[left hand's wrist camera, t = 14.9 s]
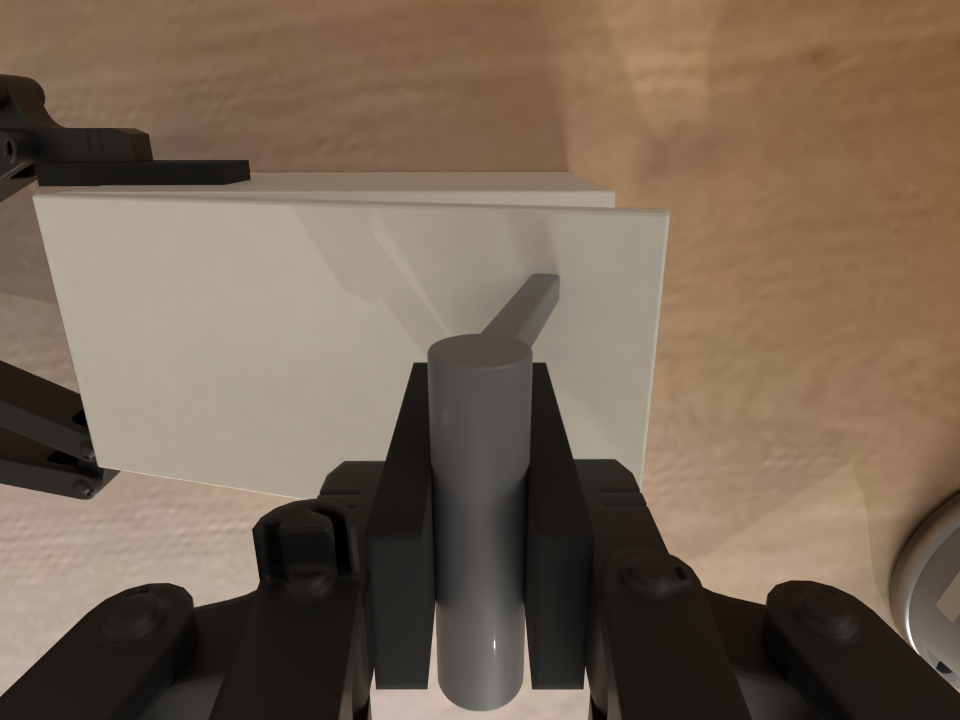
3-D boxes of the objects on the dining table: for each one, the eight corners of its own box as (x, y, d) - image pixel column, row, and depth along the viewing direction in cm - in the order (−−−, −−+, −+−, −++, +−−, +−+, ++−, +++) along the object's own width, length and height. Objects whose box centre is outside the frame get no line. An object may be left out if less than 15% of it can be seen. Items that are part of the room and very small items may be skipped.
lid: (669, 208, 15) (683, 281, 7) (636, 534, 18) (623, 807, 11) (57, 192, 19) (-307, 228, 12) (117, 455, 22) (-141, 609, 15)
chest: (569, 171, 29) (616, 190, 19) (560, 356, 32) (597, 452, 22) (194, 172, 29) (54, 191, 19) (223, 358, 32) (115, 454, 22)
